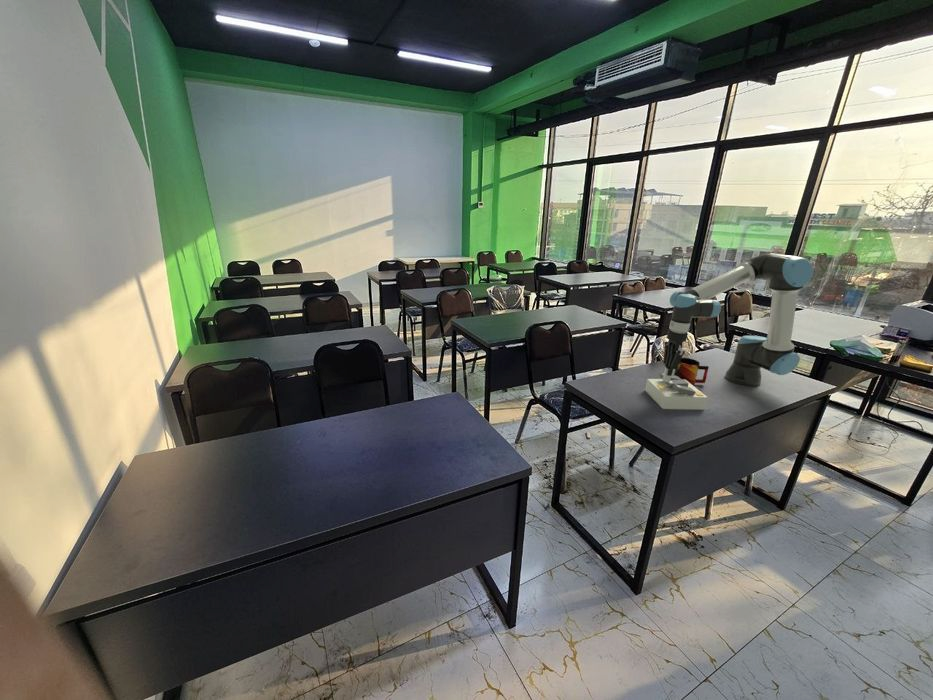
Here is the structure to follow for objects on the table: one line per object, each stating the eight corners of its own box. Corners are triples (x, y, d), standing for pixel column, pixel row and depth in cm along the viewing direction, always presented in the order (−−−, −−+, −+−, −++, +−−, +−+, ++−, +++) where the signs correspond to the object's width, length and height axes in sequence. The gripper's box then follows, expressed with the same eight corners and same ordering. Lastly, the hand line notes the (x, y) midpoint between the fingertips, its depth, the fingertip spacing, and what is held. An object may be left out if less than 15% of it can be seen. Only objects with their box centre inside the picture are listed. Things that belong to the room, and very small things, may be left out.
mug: (705, 385, 194) (710, 362, 190) (684, 389, 190) (689, 366, 185) (688, 377, 203) (693, 355, 199) (668, 381, 198) (672, 359, 194)
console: (682, 390, 188) (685, 378, 185) (704, 409, 171) (707, 395, 169) (645, 390, 188) (647, 377, 185) (663, 409, 171) (666, 395, 168)
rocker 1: (675, 379, 185) (677, 375, 184) (680, 383, 181) (681, 379, 180) (659, 376, 184) (660, 372, 183) (663, 380, 180) (665, 376, 180)
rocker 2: (683, 383, 179) (683, 379, 178) (687, 387, 175) (688, 383, 174) (665, 383, 179) (666, 379, 178) (669, 387, 175) (670, 383, 174)
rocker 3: (689, 391, 173) (690, 387, 173) (693, 395, 170) (696, 391, 169) (672, 387, 173) (674, 383, 172) (676, 391, 169) (678, 387, 168)
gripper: (662, 326, 174) (651, 374, 182) (677, 335, 162) (664, 387, 170) (679, 326, 174) (667, 375, 182) (695, 336, 162) (681, 387, 170)
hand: (666, 381), depth 176 cm, fingers closed
